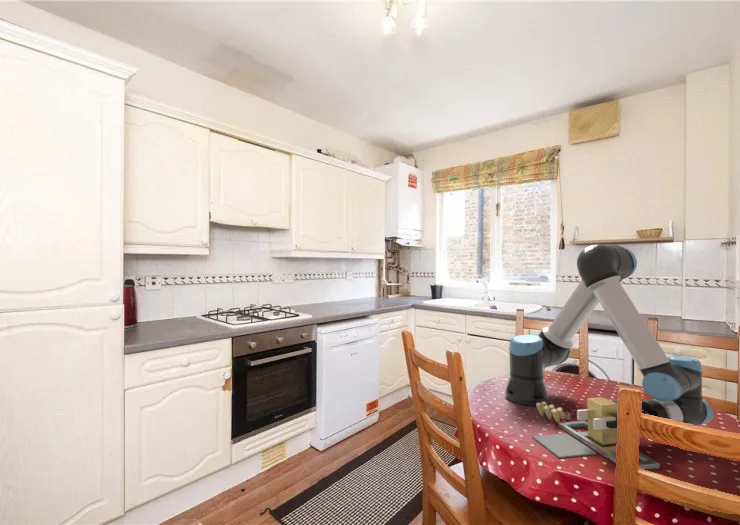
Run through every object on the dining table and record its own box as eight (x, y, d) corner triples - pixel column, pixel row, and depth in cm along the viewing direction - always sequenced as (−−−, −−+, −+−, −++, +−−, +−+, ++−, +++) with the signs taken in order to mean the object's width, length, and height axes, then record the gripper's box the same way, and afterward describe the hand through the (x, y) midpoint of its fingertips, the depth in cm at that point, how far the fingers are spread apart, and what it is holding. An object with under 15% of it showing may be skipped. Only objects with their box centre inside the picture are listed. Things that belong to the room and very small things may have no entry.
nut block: (588, 440, 97) (587, 398, 97) (603, 438, 98) (602, 397, 98) (602, 449, 92) (601, 405, 92) (618, 447, 93) (617, 404, 93)
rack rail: (558, 426, 106) (558, 422, 106) (583, 424, 107) (583, 420, 108) (628, 471, 82) (628, 466, 82) (659, 467, 84) (659, 463, 84)
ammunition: (554, 410, 107) (571, 406, 110) (534, 402, 114) (551, 398, 117) (555, 426, 107) (572, 421, 110) (535, 417, 114) (551, 412, 117)
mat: (532, 437, 99) (532, 436, 99) (566, 434, 101) (566, 433, 101) (559, 458, 88) (559, 456, 88) (596, 454, 90) (596, 452, 90)
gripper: (691, 442, 89) (614, 450, 85) (628, 413, 107) (562, 419, 103) (690, 413, 89) (613, 420, 85) (628, 389, 107) (562, 394, 103)
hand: (585, 419), depth 94 cm, fingers closed on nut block, 5 cm apart
